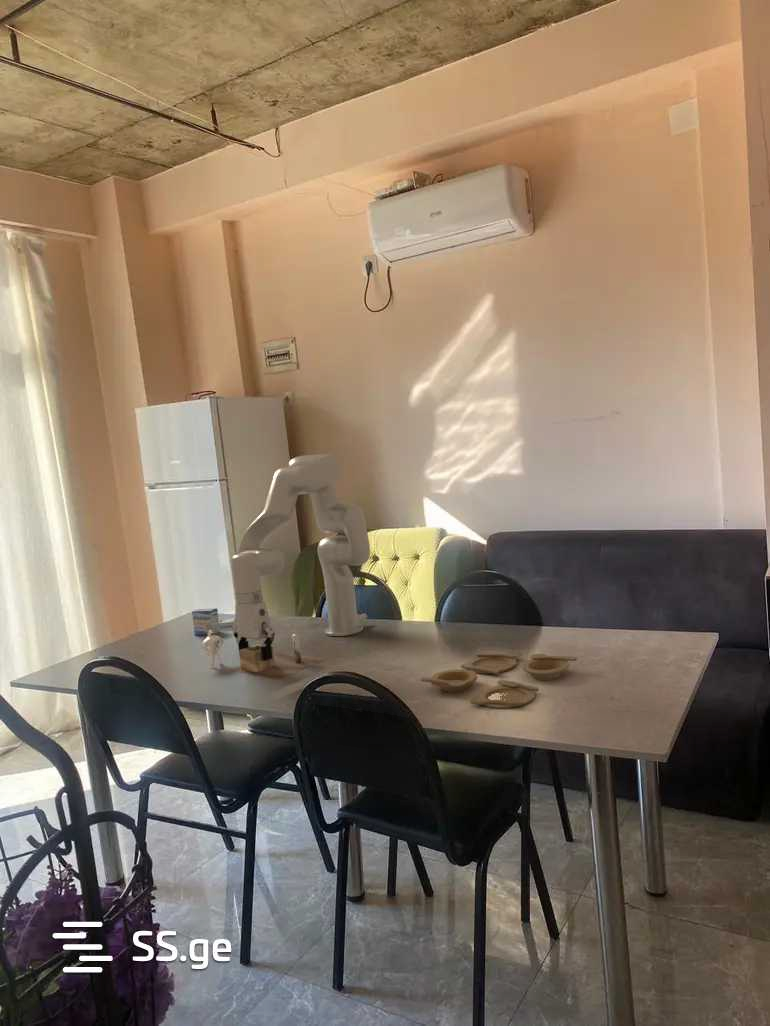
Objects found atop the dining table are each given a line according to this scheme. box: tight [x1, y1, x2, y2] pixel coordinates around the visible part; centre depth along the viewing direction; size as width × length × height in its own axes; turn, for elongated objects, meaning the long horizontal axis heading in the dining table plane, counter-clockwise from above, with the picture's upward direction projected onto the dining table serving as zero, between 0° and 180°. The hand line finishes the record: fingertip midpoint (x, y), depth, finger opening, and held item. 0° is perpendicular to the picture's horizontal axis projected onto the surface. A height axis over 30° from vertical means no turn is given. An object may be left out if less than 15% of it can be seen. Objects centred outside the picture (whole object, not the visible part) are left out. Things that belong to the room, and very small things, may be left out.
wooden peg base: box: [230, 633, 326, 680], centre depth 212 cm, size 18×20×10 cm
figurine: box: [201, 630, 225, 669], centre depth 217 cm, size 7×4×12 cm, turn 138°
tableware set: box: [420, 652, 578, 709], centre depth 184 cm, size 35×29×4 cm
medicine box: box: [191, 608, 221, 636], centre depth 264 cm, size 8×4×9 cm, turn 73°
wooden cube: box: [238, 643, 275, 672], centre depth 211 cm, size 7×7×6 cm
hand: (255, 657), depth 211 cm, fingers open, 9 cm apart
